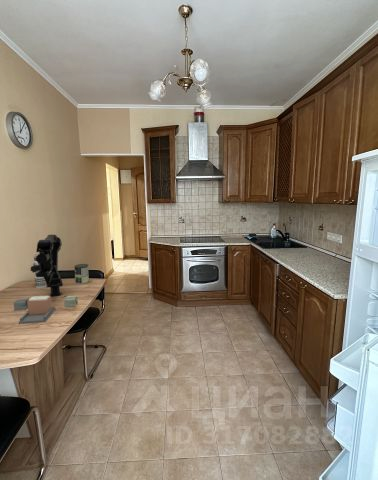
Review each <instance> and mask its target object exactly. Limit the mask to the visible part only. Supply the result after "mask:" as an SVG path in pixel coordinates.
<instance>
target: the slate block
mask: <svg viewBox="0 0 378 480" xmlns="http://www.w3.org/2000/svg"><path fill="white" fill-rule="evenodd" d="M29 299H30V298H27V297H26V298H17V300H15V301H14V302H13V310H14V312H15V311H27V310H28V304H27V301H28V300H29Z"/></svg>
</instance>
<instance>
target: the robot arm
mask: <svg viewBox="0 0 378 480" xmlns="http://www.w3.org/2000/svg"><path fill="white" fill-rule="evenodd" d="M62 243H63V242H62V239H61V238H60V237H59V236H57V234H47V236H46V237H45V239H40V240H38V241H37V244H36V253H38V254H39V255H37V257H36V261H37V262H38V263H39V265H36V266H35V265H32V266H30V268H29V269H30V271H31V272H32V273H34V274H35V272H36V271H38V270H40V271H39V272H38V273H37V274H36V277H44V279H45V281H46V283H47V287H46V288H49V289H50V293H49V296H51V298H52V297H57V296H61V295H62V293H61V289H60V287H63V280H62V278H61V275H60V274H59V271H58V270H59V269H58V268H59V267H58V266H59V264H58V263H59V252H60V250H61V248H62V245H63V244H62Z"/></svg>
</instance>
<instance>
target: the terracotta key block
mask: <svg viewBox="0 0 378 480" xmlns="http://www.w3.org/2000/svg"><path fill="white" fill-rule="evenodd" d="M27 304H28V308H27V311H28V315H34V314H47V312H48V311H49V310H50V309H51V308H52V297H51V296H50V295H38V296H36V295H35V296H31V297H30V298H29V300H28V301H27Z"/></svg>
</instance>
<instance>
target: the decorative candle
mask: <svg viewBox="0 0 378 480" xmlns="http://www.w3.org/2000/svg"><path fill="white" fill-rule="evenodd" d="M37 255H39V253H37V254H35V255H34V256H33V264H32V266H34V265H35V266H36V265H39V263H38V262H37V261H36V257H37ZM39 271H40V270H38V271H36V272H34V274H35V276H34V281H35V284H34V285H35V288H36V289H41V288H47V287H46V286H47V283H46V281H45V279H44V277H36V274H37V273H38V272H39Z"/></svg>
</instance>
